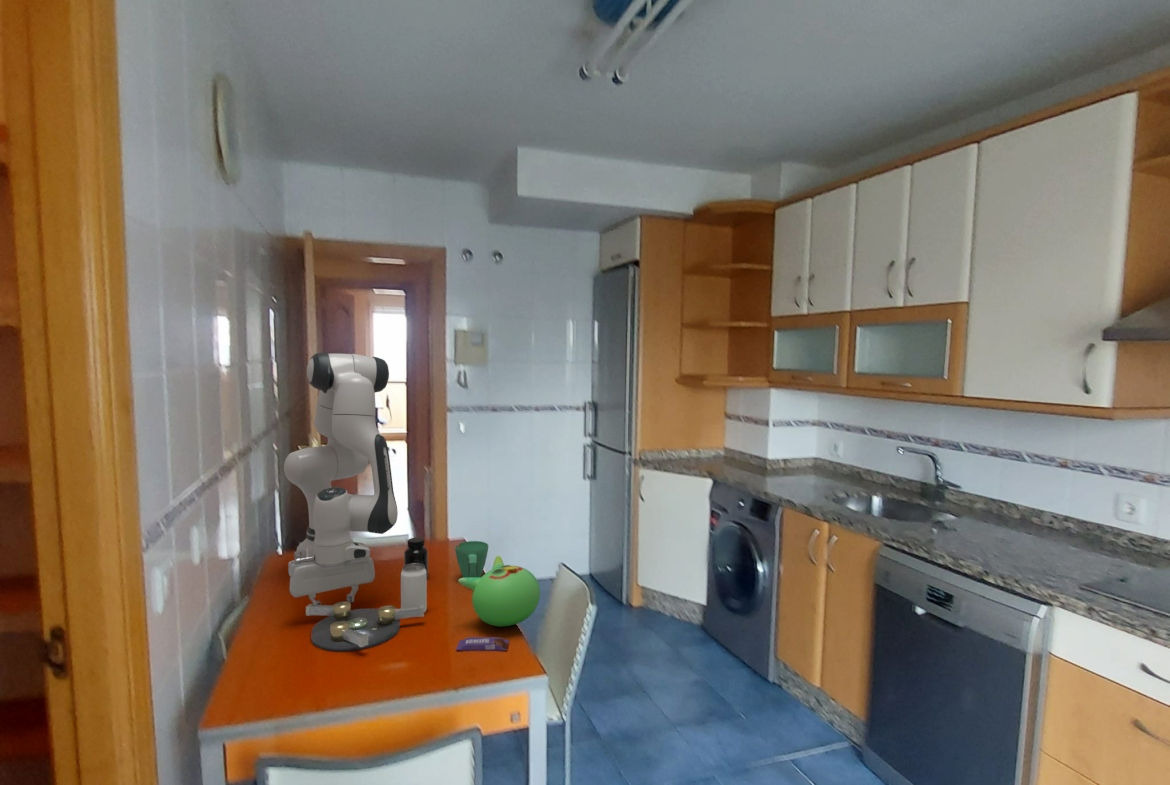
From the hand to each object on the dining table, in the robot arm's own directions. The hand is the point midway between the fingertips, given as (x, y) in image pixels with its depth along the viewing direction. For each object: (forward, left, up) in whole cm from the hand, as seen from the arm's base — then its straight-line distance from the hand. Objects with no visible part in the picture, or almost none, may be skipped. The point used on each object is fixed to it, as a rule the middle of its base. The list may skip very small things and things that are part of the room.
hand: (333, 605), depth 158 cm
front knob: (+20, -6, -1) cm, 21 cm away
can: (+13, +15, -3) cm, 20 cm away
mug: (+7, +39, -3) cm, 40 cm away
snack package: (+41, +15, -4) cm, 44 cm away
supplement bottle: (-7, +29, -3) cm, 30 cm away
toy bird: (+35, +27, -3) cm, 44 cm away
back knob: (+3, -3, -1) cm, 4 cm away
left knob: (+18, +8, -1) cm, 20 cm away
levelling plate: (+13, -1, -3) cm, 13 cm away
